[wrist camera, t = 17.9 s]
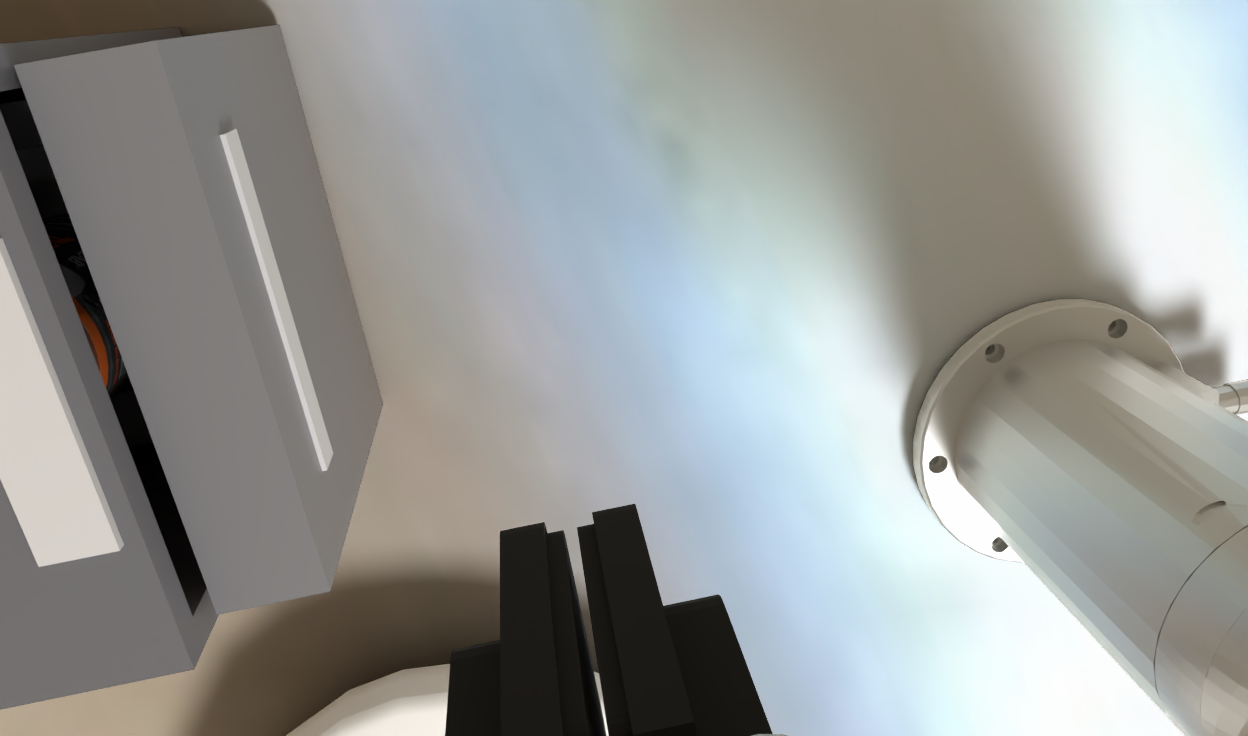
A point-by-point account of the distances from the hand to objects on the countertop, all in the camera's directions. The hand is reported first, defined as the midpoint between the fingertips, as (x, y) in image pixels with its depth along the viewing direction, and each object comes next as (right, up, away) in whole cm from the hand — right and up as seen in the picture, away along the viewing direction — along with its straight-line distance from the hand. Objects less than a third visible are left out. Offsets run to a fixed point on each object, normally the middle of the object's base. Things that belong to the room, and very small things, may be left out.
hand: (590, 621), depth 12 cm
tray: (-21, +6, +26) cm, 34 cm away
